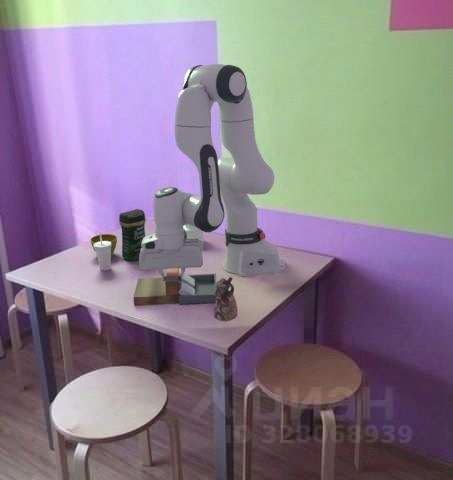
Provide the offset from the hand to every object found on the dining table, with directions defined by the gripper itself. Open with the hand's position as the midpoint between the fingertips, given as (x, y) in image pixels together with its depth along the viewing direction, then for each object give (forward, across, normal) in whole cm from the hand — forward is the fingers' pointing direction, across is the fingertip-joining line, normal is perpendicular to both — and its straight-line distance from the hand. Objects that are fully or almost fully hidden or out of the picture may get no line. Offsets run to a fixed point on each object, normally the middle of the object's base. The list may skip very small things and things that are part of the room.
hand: (172, 280), depth 168 cm
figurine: (+5, -16, +16) cm, 23 cm away
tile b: (+3, -4, +4) cm, 6 cm away
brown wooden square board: (+5, +5, 0) cm, 7 cm away
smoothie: (+5, +26, -24) cm, 36 cm away
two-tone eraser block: (+2, 0, 0) cm, 2 cm away
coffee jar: (+5, +16, -34) cm, 38 cm away
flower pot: (+5, +28, -37) cm, 47 cm away
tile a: (+3, -4, -4) cm, 6 cm away
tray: (+5, -8, 0) cm, 9 cm away
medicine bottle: (+5, -6, -46) cm, 47 cm away
